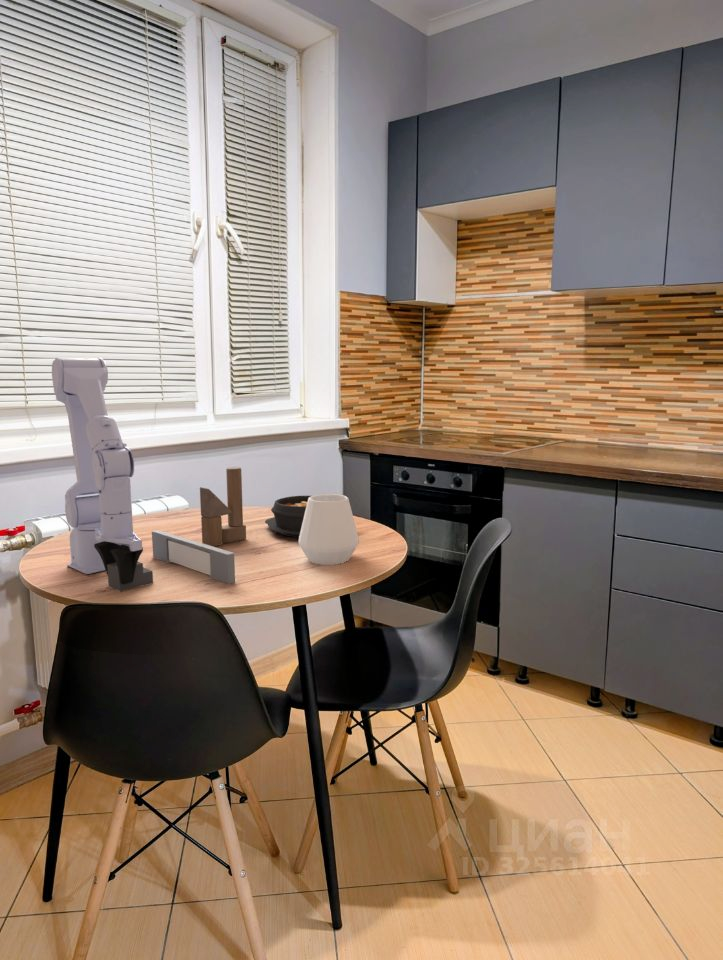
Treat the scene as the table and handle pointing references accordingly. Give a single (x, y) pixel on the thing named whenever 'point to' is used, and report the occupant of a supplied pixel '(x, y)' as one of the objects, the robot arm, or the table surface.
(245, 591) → the table surface
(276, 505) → the casserole
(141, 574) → the dark grey block
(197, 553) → the door
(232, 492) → the brown wooden block structure
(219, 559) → the wall frame
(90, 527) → the robot arm
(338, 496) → the white faceted vase
